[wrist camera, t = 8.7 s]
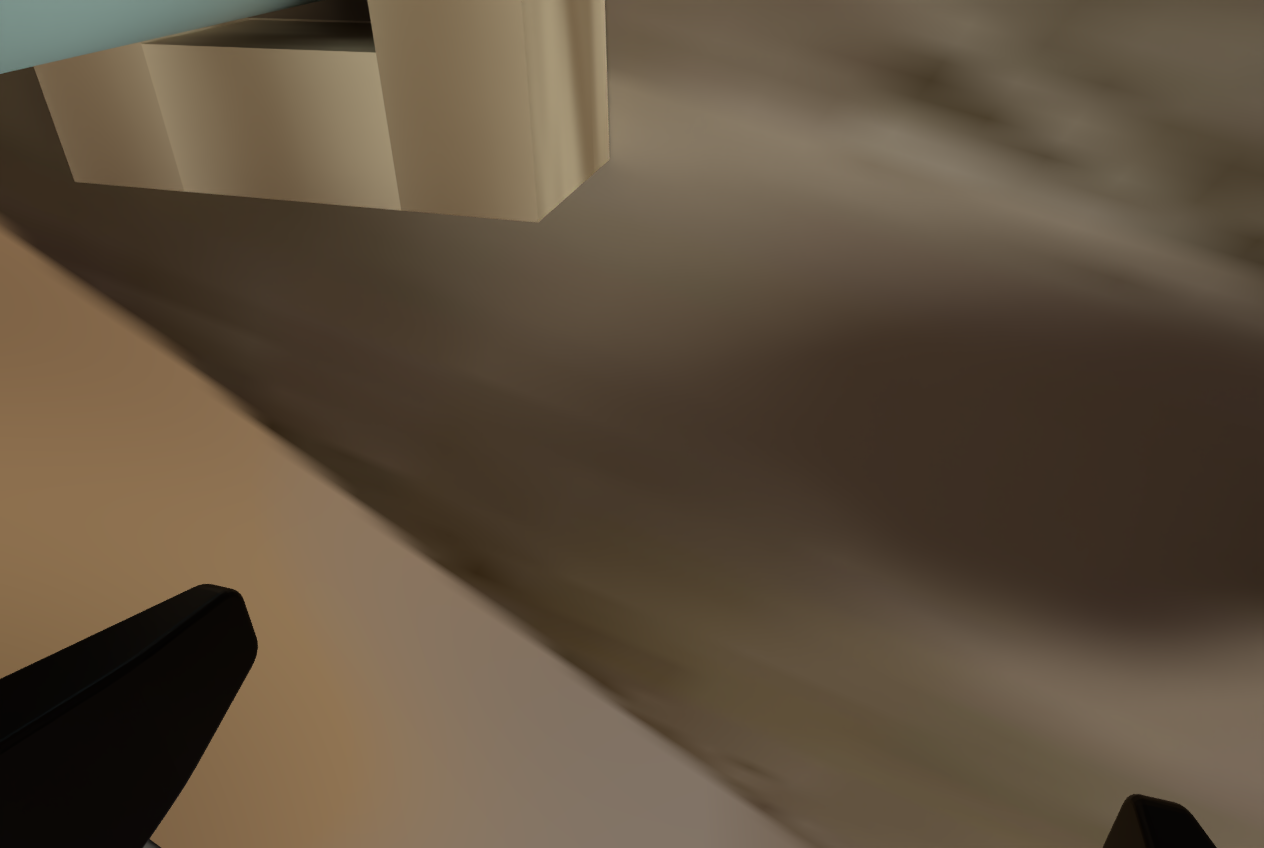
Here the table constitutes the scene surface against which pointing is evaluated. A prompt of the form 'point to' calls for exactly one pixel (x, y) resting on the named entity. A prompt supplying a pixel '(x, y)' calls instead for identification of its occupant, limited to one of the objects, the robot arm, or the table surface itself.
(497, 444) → the table surface
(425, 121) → the jig block
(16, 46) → the pin
